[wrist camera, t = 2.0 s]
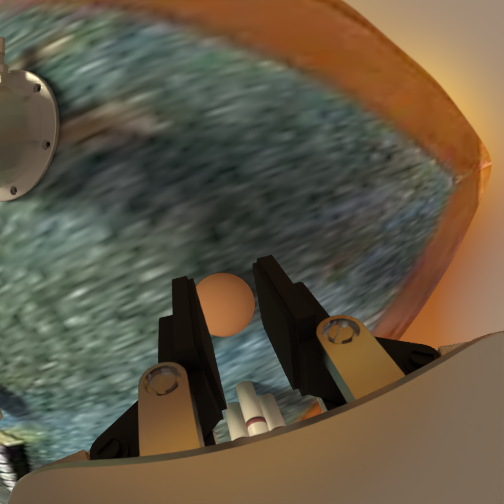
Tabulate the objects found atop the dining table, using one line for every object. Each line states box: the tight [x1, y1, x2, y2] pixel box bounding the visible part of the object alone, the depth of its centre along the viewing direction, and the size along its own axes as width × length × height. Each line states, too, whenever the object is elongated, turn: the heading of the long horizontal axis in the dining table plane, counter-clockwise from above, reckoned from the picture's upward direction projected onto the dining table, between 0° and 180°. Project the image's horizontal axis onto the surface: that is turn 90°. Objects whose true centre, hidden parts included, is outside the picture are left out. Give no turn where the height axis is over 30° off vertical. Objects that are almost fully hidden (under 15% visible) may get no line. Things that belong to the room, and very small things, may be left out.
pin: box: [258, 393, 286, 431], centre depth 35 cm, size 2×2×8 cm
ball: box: [196, 273, 255, 336], centre depth 28 cm, size 6×6×6 cm
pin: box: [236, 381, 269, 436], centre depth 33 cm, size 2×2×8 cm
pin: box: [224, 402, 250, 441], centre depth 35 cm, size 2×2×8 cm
